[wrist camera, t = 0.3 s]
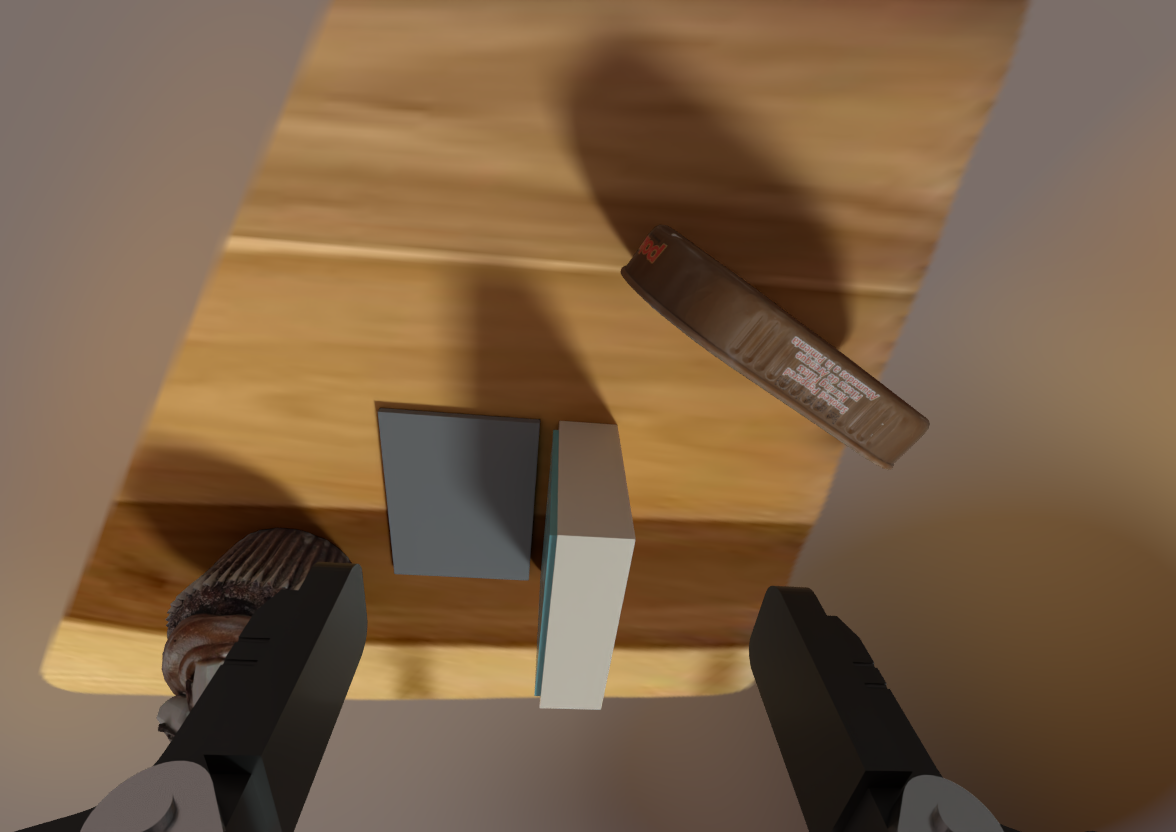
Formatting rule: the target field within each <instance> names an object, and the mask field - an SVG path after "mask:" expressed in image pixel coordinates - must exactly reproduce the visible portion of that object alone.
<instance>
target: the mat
mask: <svg viewBox="0 0 1176 832" xmlns="http://www.w3.org/2000/svg"><path fill="white" fill-rule="evenodd" d="M378 419H379V429H380V439H381V448H382V458H383V467H384V477H385V487H386V496H387V506H388V515H389V525H390V535H391V544H392V554H393V563H394V573H395V574H408V575H429V576H449V577H470V578H491V579H512V580H529V567H530V553H531V539H532V525H533V512H534V498H535V484H536V470H537V456H538V443H539V429H540V420H537V419H524V418H510V417H496V416H483V415H469V414H455V413H442V412H428V411H414V410H401V409H387V408H380V409H379V410H378Z"/></svg>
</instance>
